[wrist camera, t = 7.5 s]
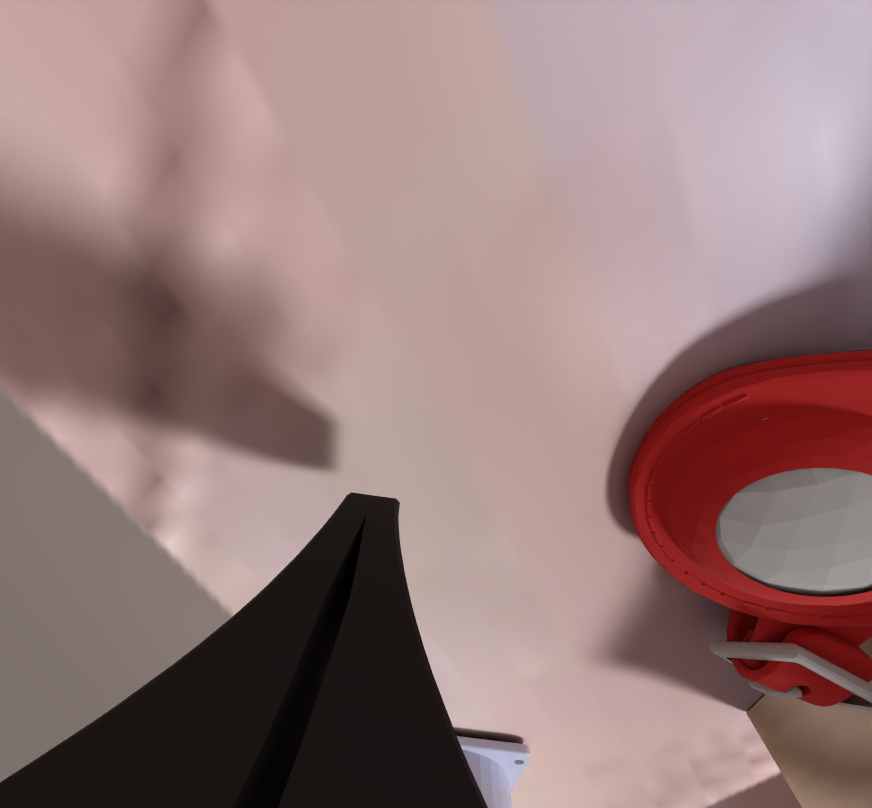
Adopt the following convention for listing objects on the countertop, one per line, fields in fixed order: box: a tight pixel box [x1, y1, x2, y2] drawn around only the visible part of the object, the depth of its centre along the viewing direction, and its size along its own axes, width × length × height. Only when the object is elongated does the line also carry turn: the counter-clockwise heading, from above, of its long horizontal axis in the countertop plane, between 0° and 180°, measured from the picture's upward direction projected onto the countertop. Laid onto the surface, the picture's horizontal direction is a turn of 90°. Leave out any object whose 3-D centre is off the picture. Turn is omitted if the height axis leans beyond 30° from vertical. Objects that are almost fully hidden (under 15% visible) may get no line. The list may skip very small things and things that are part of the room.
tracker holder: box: [629, 350, 872, 711], centre depth 10 cm, size 12×4×10 cm
